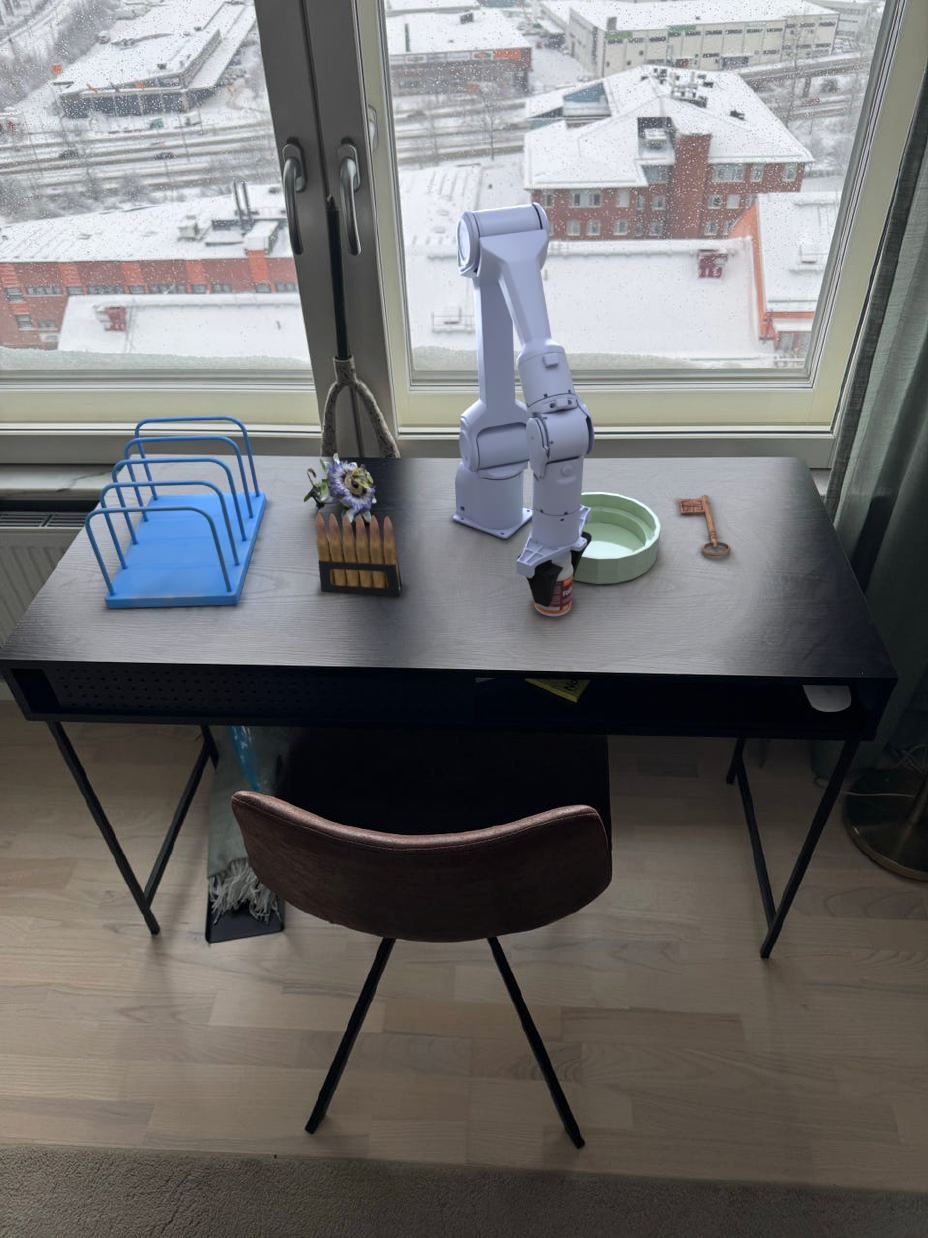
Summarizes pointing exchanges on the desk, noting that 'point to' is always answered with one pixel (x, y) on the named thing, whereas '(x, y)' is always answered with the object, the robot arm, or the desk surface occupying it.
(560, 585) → the pill bottle
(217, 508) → the file sorter
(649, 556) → the bowl
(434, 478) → the desk surface
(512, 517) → the robot arm
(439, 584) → the desk surface
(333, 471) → the passion flower
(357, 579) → the ammunition clip
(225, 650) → the desk surface
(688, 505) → the key
